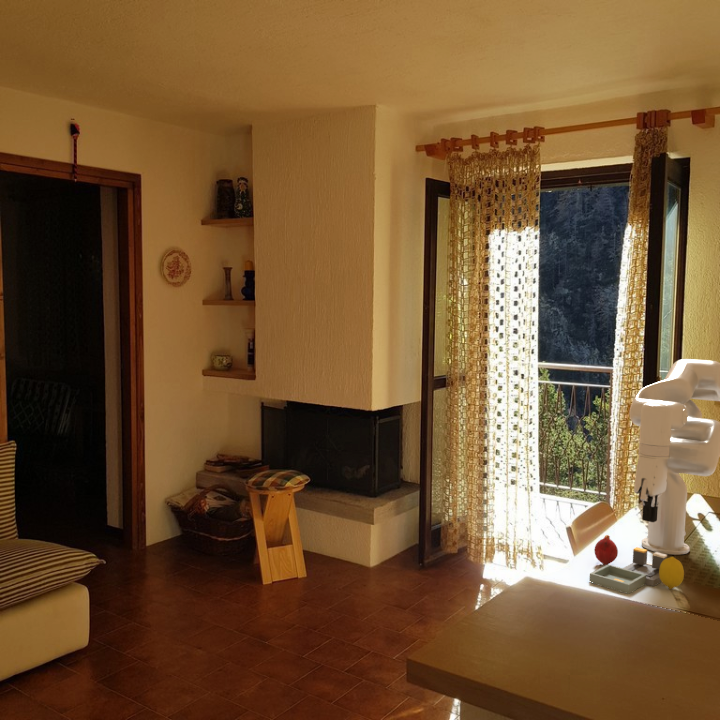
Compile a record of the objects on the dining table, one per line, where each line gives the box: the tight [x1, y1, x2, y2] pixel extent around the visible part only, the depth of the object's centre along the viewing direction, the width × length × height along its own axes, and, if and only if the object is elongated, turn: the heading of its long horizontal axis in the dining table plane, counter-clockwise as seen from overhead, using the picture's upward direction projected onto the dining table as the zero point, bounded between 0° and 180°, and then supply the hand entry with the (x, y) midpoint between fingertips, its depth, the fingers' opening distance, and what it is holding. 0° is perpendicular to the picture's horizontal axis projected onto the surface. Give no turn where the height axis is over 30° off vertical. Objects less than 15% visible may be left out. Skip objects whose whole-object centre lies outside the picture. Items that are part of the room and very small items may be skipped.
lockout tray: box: [588, 563, 646, 595], centre depth 183 cm, size 10×10×2 cm
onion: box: [594, 534, 619, 566], centre depth 195 cm, size 6×6×8 cm
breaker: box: [651, 552, 668, 569], centre depth 188 cm, size 2×3×4 cm
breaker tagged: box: [632, 546, 648, 565], centre depth 192 cm, size 2×3×4 cm
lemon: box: [659, 556, 685, 590], centre depth 180 cm, size 6×6×8 cm
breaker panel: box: [622, 562, 662, 587], centre depth 188 cm, size 11×9×2 cm
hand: (649, 520), depth 194 cm, fingers closed
